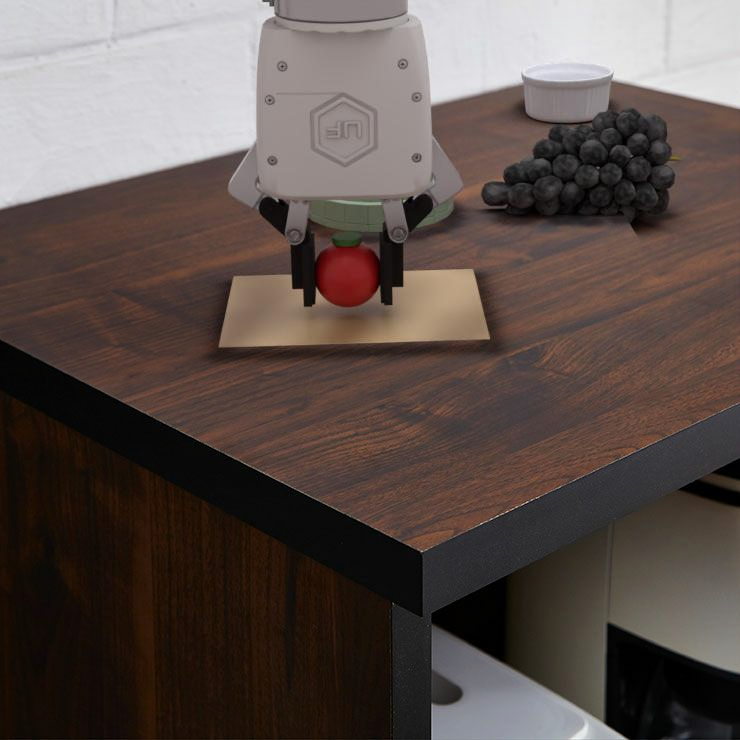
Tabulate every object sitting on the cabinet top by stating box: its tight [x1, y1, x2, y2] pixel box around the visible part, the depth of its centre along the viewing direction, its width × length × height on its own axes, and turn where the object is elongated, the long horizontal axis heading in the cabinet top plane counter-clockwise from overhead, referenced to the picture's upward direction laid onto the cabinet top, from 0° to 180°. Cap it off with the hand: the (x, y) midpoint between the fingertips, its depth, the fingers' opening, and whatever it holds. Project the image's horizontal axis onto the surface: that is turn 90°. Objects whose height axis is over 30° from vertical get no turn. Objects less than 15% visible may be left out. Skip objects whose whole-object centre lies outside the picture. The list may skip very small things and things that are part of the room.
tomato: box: [315, 230, 380, 307], centre depth 85 cm, size 4×4×4 cm
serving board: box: [218, 268, 491, 349], centre depth 87 cm, size 16×12×2 cm
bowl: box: [308, 174, 455, 233], centre depth 105 cm, size 11×11×4 cm
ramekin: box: [520, 61, 615, 124], centre depth 135 cm, size 9×9×4 cm
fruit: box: [480, 107, 683, 224], centre depth 104 cm, size 9×8×15 cm
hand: (348, 295), depth 85 cm, fingers closed on tomato, 4 cm apart
